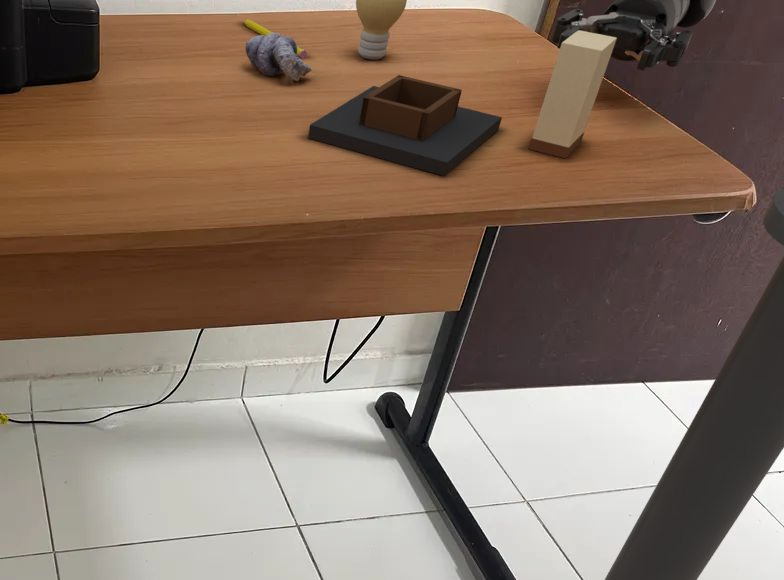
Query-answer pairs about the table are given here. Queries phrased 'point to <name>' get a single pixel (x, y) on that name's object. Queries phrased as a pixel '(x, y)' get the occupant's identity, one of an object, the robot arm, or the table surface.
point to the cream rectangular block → (571, 93)
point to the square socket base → (408, 125)
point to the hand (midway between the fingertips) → (603, 52)
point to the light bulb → (377, 25)
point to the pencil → (264, 32)
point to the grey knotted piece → (276, 56)
